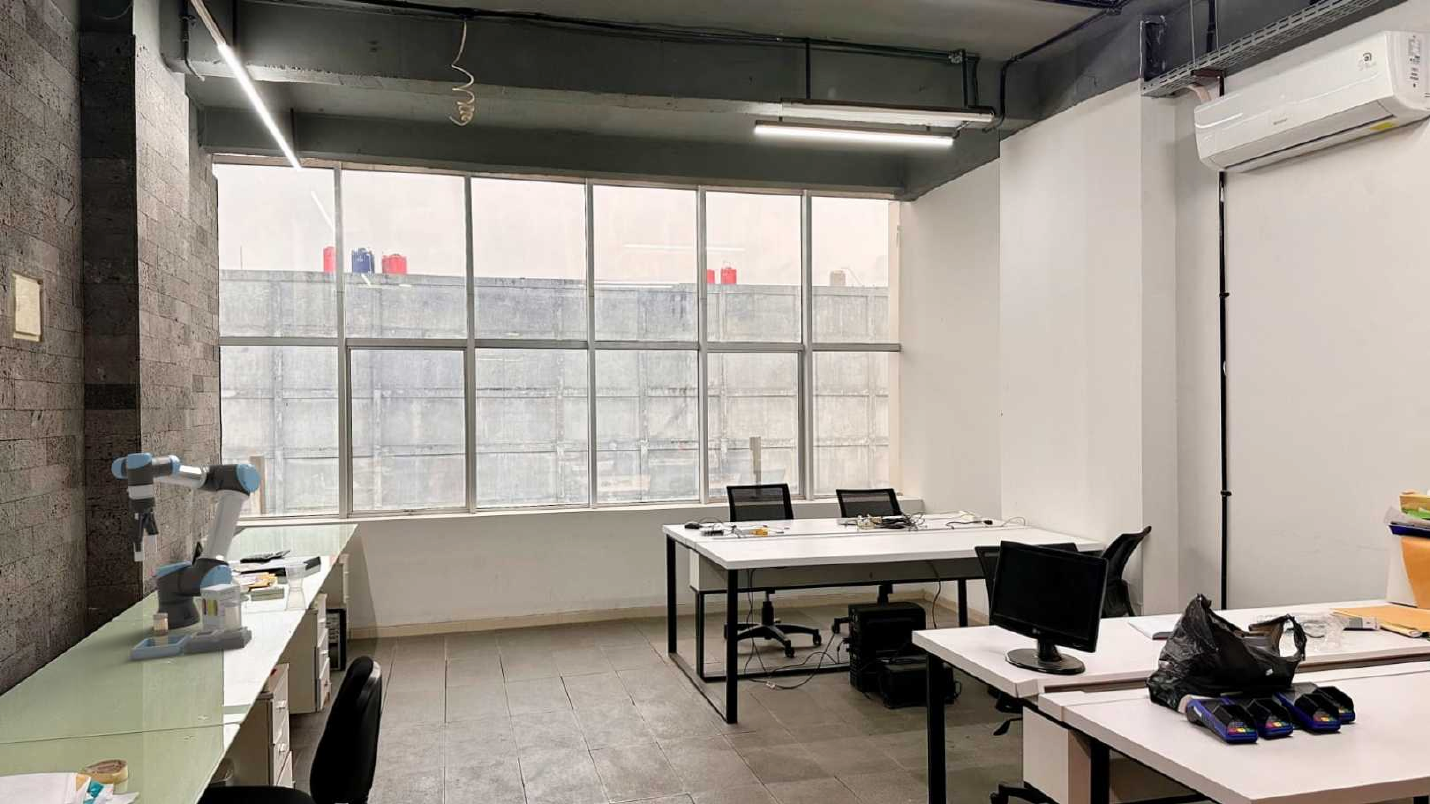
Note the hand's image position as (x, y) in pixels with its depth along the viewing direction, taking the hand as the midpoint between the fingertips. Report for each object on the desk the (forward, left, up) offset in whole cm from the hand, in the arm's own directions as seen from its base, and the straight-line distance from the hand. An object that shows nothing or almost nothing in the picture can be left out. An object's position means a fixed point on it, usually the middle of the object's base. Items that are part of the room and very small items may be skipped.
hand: (146, 557), depth 307 cm
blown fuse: (+11, +6, -30) cm, 33 cm away
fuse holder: (+13, +24, -31) cm, 42 cm away
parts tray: (+11, +6, -31) cm, 34 cm away
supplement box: (-8, +20, -32) cm, 38 cm away
